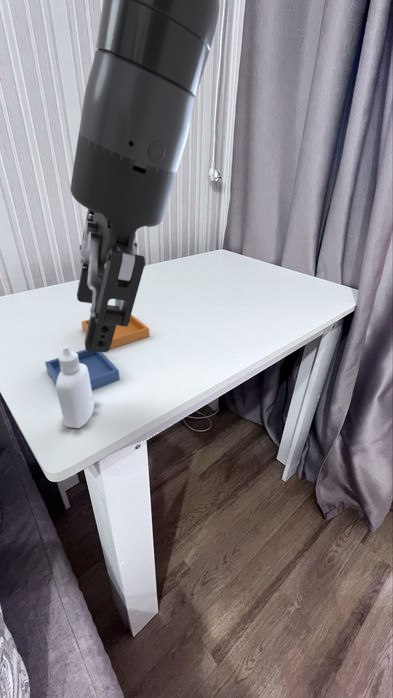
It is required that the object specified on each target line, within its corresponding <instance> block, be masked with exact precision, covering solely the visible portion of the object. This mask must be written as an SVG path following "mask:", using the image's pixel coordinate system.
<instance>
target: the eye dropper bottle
mask: <svg viewBox="0 0 393 698" xmlns="http://www.w3.org/2000/svg"><path fill="white" fill-rule="evenodd" d="M62 348H63V349H62V350H63V351H62V352H61V354H59V356H58V357H57V358H58V359H59V364H60V368H61V372H60V373H59V375H58V378H57V382H56V384H55V388H56V394H57V399H58V403H59V406H60V410H61V415H62V419H63V423H64V425H65V427H67V428H71V429H80V428H82V427H83V426H84V425H86V423H87V422H89V420H90V419H91V418H92V416H93V414H94V409H95V401H94V395H93V390H92V389H91V383H90V378H89V373H88V368H87V366H86V365H85V364H82V363H79V358H78V354H77V353H76V352H77V351H73V350H71V348H70V346H69V345H65V346H63V347H62Z"/></svg>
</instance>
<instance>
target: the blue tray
mask: <svg viewBox="0 0 393 698" xmlns="http://www.w3.org/2000/svg"><path fill="white" fill-rule="evenodd" d="M75 352H76V353H77V354H78V358H79V363H82V364H85V365H86V366H87V368H88V373H89V378H90V383H91V389H92V391H94V390H98V389H99V388H102V387H105V386H107V385H111V384H112V383H115V382H118V381H119V380H121V378H120V372H119V368H118V367H116V365H115V364H114V363H113V362H112V361H111V360H110V359H109V358H108V357H107V356H106V354H104V352H92V351H87V350H86V349H82V350H79V351H75ZM44 365H45V368H46V372H47V373H48V376H49V377H50V378H51V380H52V381H53V383H54V384H55V385H56V382H57V378H58V375H59V373H60V372H61V368H60V364H59V359H58V357H56V358H53V359H51V360H47V361H45V362H44Z"/></svg>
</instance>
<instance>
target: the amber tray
mask: <svg viewBox="0 0 393 698" xmlns="http://www.w3.org/2000/svg"><path fill="white" fill-rule="evenodd" d="M89 320H90V318H89V319H86V320H82V321H81V328H82V331H83V332H84V333H85V334H86V333H87V329H88V324H89ZM149 337H150V328H149V327H148V326H147V325H145V324H144V323H143V322H142V321H141V320H139V319H138V318H137V317H136V316H134V315H133V314H132V313H131V317H130V321H129V324H128V326H127V327H124V326H118V325H116V329H115V332H114V336H113V340H112V343H111V347H110V350H113V349H116V348H119V347H122V346H125V345H129V344H131V343H134V342H137V341H140V340H144V339H147V338H149Z"/></svg>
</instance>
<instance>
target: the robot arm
mask: <svg viewBox="0 0 393 698" xmlns="http://www.w3.org/2000/svg"><path fill="white" fill-rule="evenodd" d="M219 13H220V0H103V1H102V7H101V14H100V20H99V25H98V33H97V37H96V38H97V39H96V46H95V47H96V50H95V51H94V56H93V61H92V64H91V67H90V68H91V69H90V71H89V76H88V77H87V78H88V79H87V83H86V86H85V91H84V96H83V100H82V101H83V102H82V109H81V116H80V121H79V122H80V123H79V129H78V135H77V142H76V149H75V156H74V161H73V168H72V169H73V170H72V175H71V182H70V193H71V195H72V197H73V199H74V200H75V201H76V202H78V204H79V205H81V206H82V207H84V208H86V209H87V213H86V217H85V223H84V227H83V234H82V238H81V244H80V245H79V251H80V258H79V259H80V260H79V263H80V266H81V271H80V277H79V282H78V287H77V291H76V298H77V299H76V300H77V301H78V302H80V303H86V304H91V306H90V308H89V309H90V310H89V312H90V315H89V319H90V320H89V319H88V320H89V324H88V329H87V333H85V339H84V343H83V344H84V348H85V349H86V350H87V351H92V352H102V353H107V352H109V351H110V350H111V349H110V347H111V343H112V340H113V336H114V332H115V329H116V325H118V326H124V327H127V326H128V324H129V321H130V317H131V314H132V313H133V309H134V305H135V303H136V298H137V295H138V290H139V287H140V283H141V280H142V277H143V272H144V269H145V266H146V258H145V255H140V254H138V243H137V242H136V237H137V234H136V233H137V232H138V230H139V229H140V228H141V229H142V228H144V227H147V228H152V227H156V226H158V225H160V224H161V223H162V221H163V219H164V216H165V212H166V209H167V206H168V203H169V199H170V196H171V192H172V190H173V186H174V183H175V180H176V176H177V173H178V170H179V167H180V163H181V159H182V157H183V154H184V150H185V147H186V143H187V141H188V140H187V139H188V136H189V132H190V127H191V121H192V115H193V110H194V105H195V102H196V98H195V97H197V94H198V91H199V88H200V84H201V81H202V77H203V74H204V71H205V67H206V65H207V61H208V57H209V54H210V50H211V47H212V44H213V40H214V37H215V34H216V33H215V32H216V29H217V24H218V20H219ZM110 300H115V301H114V305H112V304H109V302H110ZM85 349H84V350H85Z"/></svg>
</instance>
